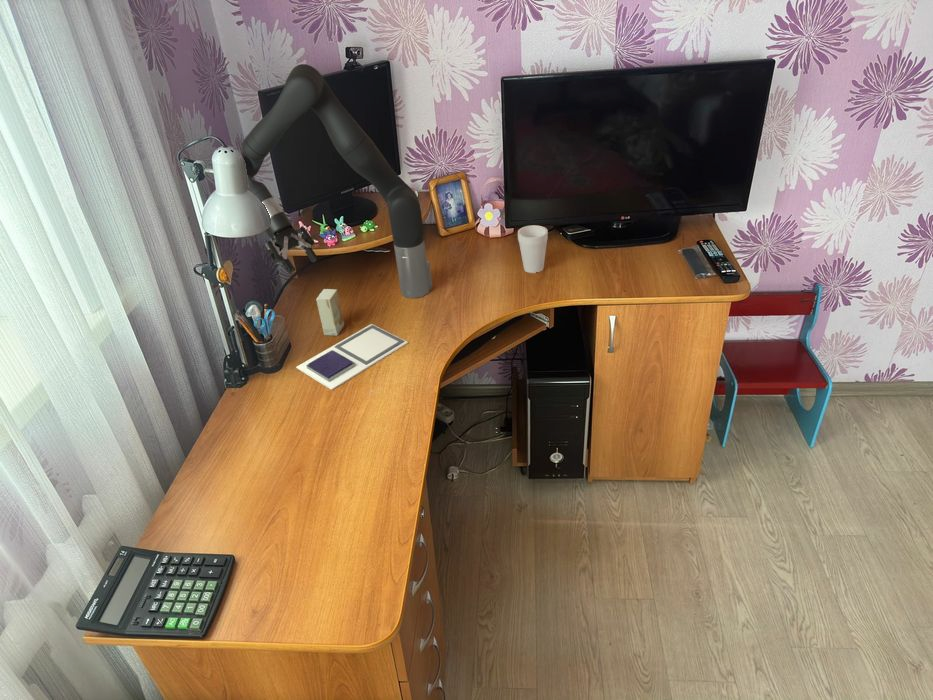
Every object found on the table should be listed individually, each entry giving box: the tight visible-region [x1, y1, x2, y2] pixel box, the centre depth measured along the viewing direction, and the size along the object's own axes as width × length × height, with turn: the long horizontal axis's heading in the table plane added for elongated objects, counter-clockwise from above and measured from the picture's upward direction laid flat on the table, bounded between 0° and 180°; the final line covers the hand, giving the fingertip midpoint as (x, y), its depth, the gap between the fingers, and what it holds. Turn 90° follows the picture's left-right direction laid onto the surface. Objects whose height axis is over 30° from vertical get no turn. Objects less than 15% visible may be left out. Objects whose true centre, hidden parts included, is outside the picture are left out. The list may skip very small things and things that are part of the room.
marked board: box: [296, 323, 409, 391], centre depth 194 cm, size 27×16×1 cm, turn 136°
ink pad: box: [306, 350, 356, 382], centre depth 189 cm, size 9×10×2 cm
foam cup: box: [517, 224, 549, 274], centre depth 223 cm, size 10×9×13 cm
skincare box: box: [316, 288, 345, 336], centre depth 202 cm, size 6×4×12 cm
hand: (304, 266), depth 200 cm, fingers open, 8 cm apart
